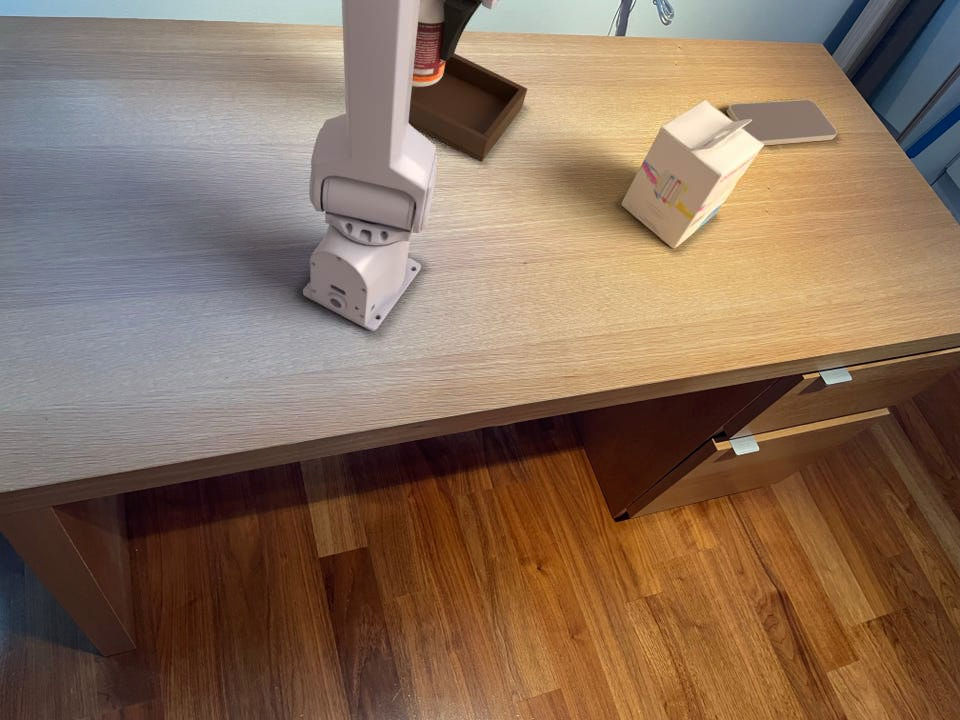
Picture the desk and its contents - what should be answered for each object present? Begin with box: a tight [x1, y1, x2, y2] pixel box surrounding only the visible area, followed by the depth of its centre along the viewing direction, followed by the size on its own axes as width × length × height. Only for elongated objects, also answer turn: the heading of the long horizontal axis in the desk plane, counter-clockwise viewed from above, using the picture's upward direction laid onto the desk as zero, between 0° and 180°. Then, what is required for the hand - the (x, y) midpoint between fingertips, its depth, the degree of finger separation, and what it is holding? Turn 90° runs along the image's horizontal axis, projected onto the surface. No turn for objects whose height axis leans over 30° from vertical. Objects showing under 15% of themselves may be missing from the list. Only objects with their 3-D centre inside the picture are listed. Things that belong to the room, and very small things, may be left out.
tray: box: [408, 52, 528, 162], centre depth 81 cm, size 12×13×3 cm
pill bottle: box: [412, 0, 446, 87], centre depth 69 cm, size 6×6×11 cm
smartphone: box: [726, 99, 838, 146], centre depth 93 cm, size 7×1×15 cm
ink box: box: [620, 99, 765, 249], centre depth 75 cm, size 9×8×13 cm
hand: (419, 42), depth 71 cm, fingers closed on pill bottle, 6 cm apart
